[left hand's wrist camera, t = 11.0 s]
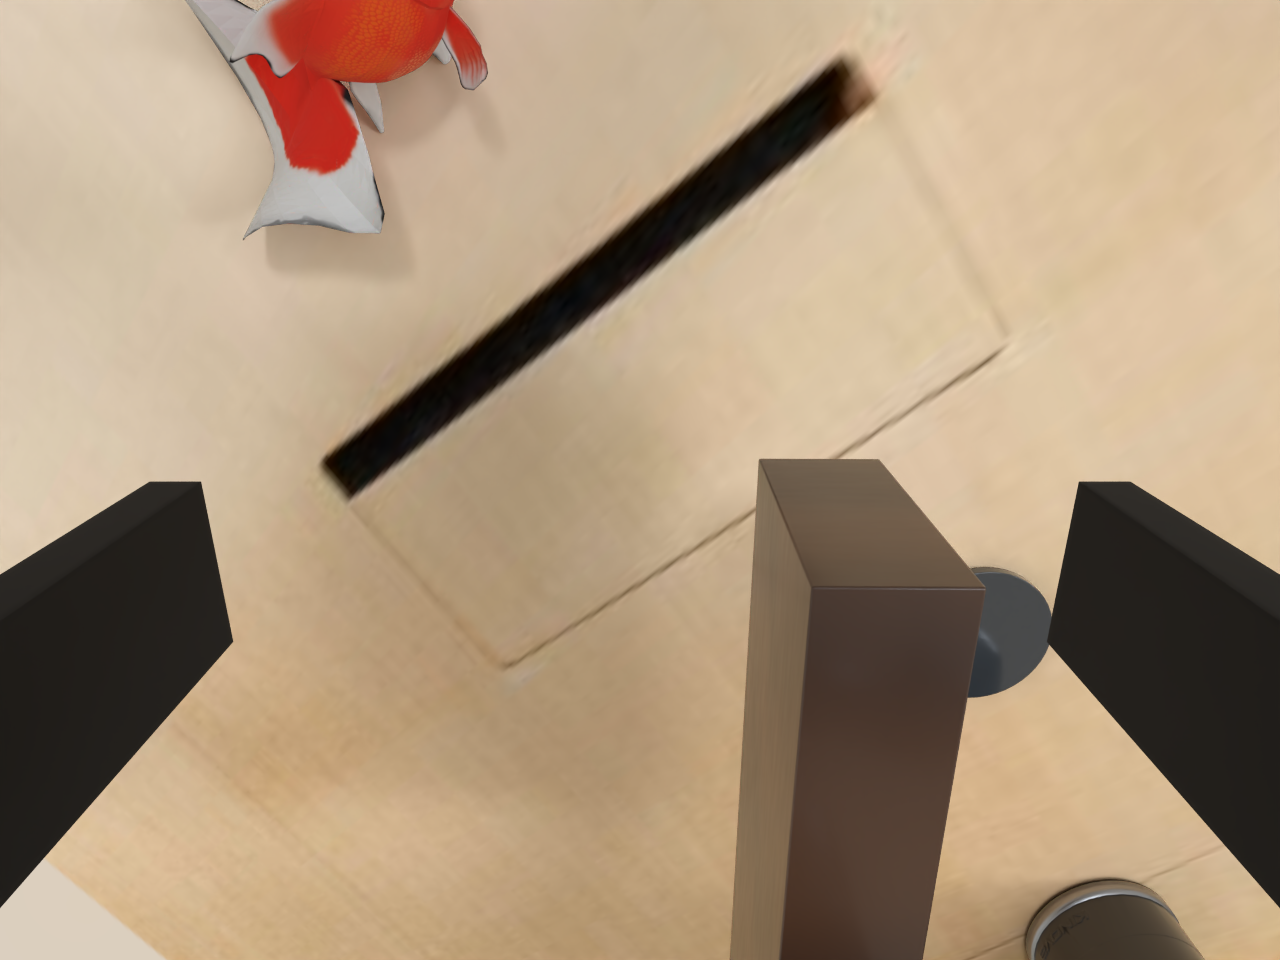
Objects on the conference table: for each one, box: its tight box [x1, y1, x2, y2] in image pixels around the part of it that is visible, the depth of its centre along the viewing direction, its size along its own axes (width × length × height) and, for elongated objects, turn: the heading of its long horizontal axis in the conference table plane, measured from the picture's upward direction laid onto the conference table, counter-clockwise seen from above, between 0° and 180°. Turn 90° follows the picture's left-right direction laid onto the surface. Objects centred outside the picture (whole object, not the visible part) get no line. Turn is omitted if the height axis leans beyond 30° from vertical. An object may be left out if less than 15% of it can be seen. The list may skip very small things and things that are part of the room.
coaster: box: [967, 567, 1052, 698], centre depth 45 cm, size 8×8×1 cm
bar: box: [730, 459, 986, 960], centre depth 27 cm, size 26×4×9 cm, turn 0°
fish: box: [185, 0, 488, 240], centre depth 32 cm, size 11×16×10 cm
